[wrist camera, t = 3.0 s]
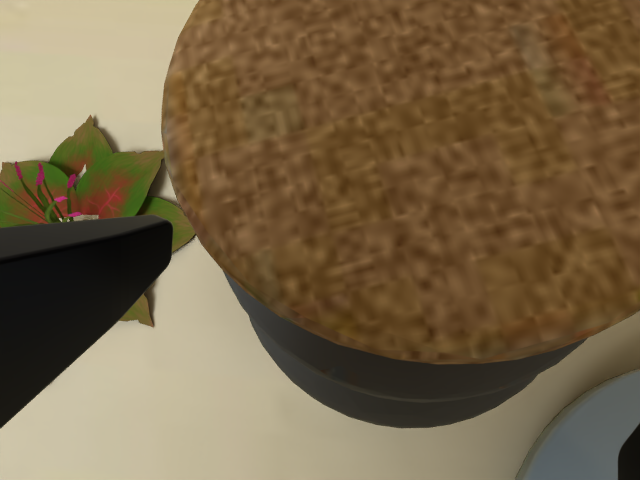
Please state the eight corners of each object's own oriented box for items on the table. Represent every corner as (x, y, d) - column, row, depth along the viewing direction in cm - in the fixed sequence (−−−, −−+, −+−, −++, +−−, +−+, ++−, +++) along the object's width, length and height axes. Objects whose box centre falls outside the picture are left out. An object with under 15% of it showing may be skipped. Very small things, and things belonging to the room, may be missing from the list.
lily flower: (104, 87, 24) (46, 18, 20) (262, 230, 20) (233, 182, 16) (-92, 252, 22) (-204, 214, 18) (45, 445, 18) (-55, 455, 14)
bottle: (318, 258, 19) (168, -151, 5) (465, 268, 18) (758, -185, 4) (302, 409, 17) (-5, 406, 3) (465, 427, 16) (986, 526, 2)
